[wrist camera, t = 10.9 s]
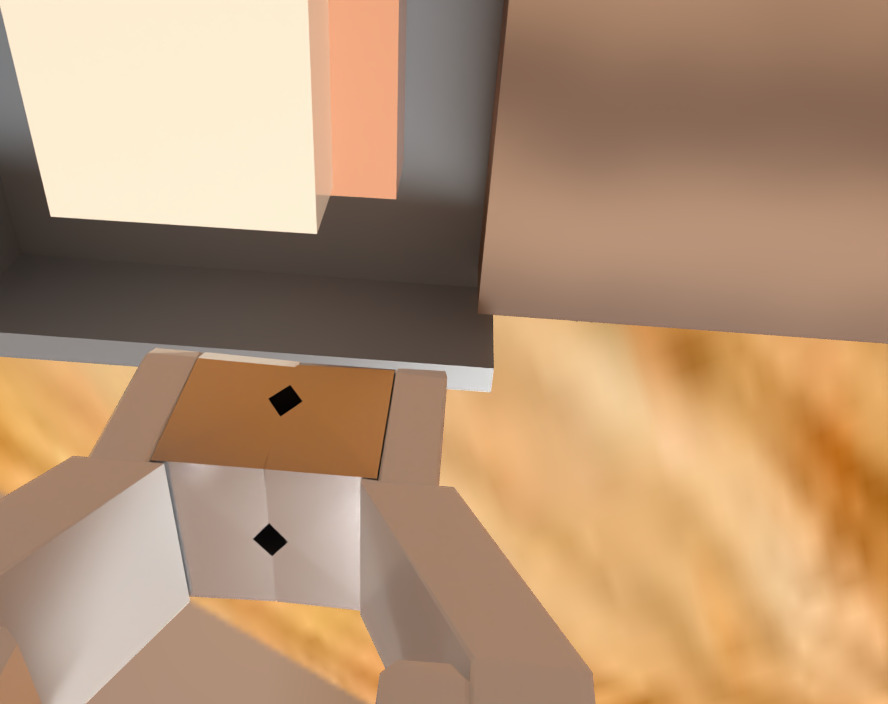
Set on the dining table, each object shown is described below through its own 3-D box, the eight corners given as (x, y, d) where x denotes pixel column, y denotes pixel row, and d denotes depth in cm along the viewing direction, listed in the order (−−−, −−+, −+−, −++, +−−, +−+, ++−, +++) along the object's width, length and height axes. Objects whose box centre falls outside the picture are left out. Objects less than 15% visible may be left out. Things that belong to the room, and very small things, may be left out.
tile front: (37, -99, 18) (-21, -78, 16) (325, -80, 18) (305, -57, 16) (92, 171, 21) (50, 216, 19) (333, 186, 21) (317, 234, 19)
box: (-181, -425, 17) (-362, -468, 13) (564, -367, 17) (585, -396, 14) (8, 267, 26) (-69, 351, 23) (489, 302, 27) (490, 392, 23)
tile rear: (151, -98, 20) (113, -80, 18) (408, -84, 20) (400, -64, 18) (185, 146, 23) (157, 185, 21) (404, 159, 23) (396, 199, 21)
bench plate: (530, -277, 18) (537, -280, 16) (1209, -225, 18) (1322, -219, 16) (477, 258, 26) (477, 313, 23) (957, 294, 26) (1006, 352, 23)
